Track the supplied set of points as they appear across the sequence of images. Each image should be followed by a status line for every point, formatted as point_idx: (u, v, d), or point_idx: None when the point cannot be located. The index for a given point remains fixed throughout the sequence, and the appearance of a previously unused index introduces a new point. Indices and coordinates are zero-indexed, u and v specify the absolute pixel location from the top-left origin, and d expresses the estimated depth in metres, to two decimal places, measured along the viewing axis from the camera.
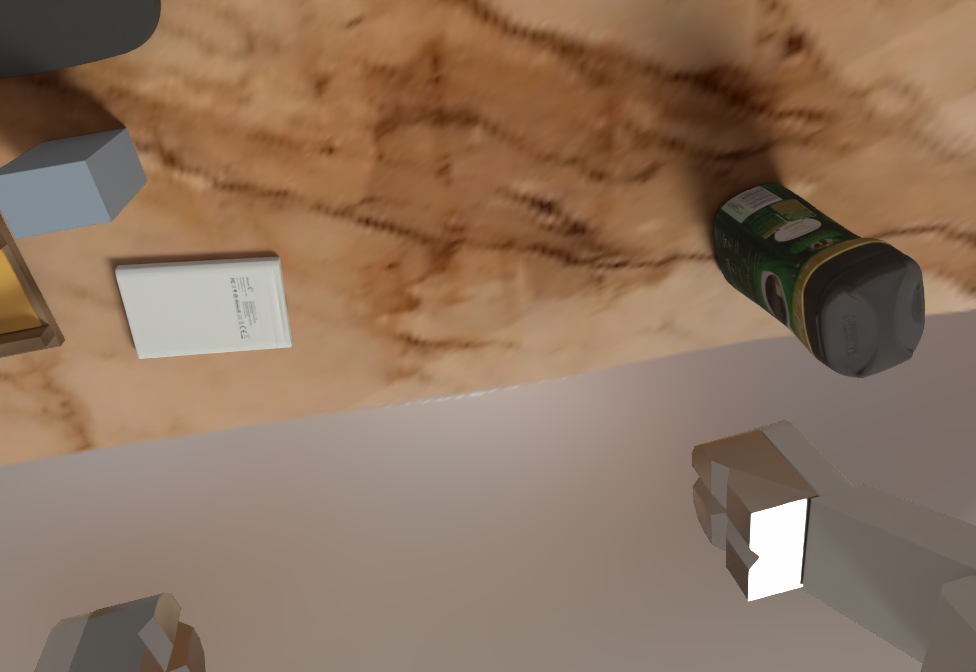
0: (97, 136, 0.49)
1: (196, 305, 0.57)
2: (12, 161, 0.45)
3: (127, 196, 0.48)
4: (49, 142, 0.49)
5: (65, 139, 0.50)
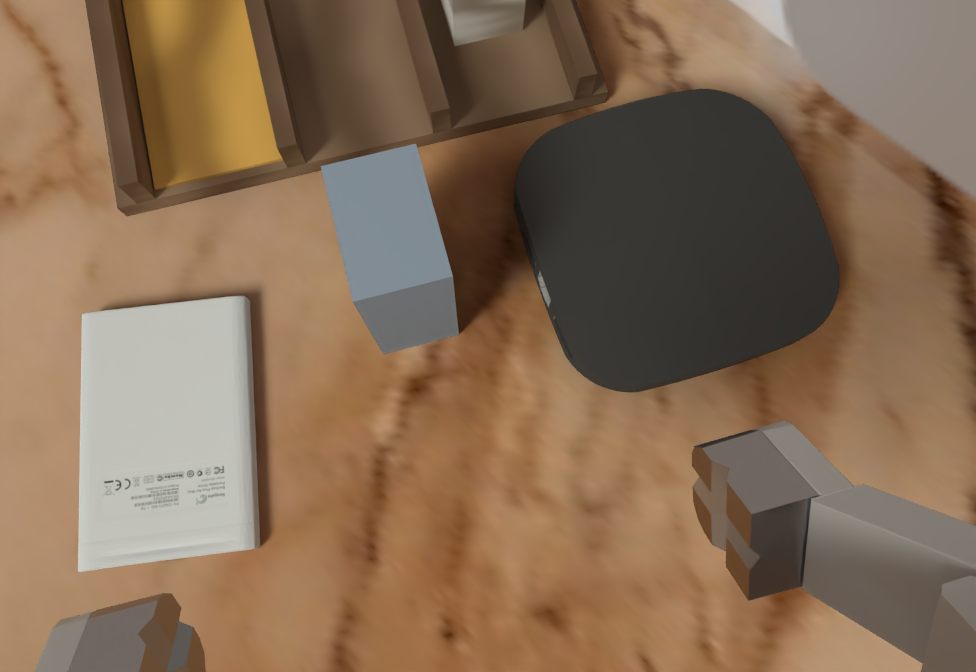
0: None
1: (175, 409, 0.34)
2: None
3: (377, 327, 0.31)
4: None
5: None
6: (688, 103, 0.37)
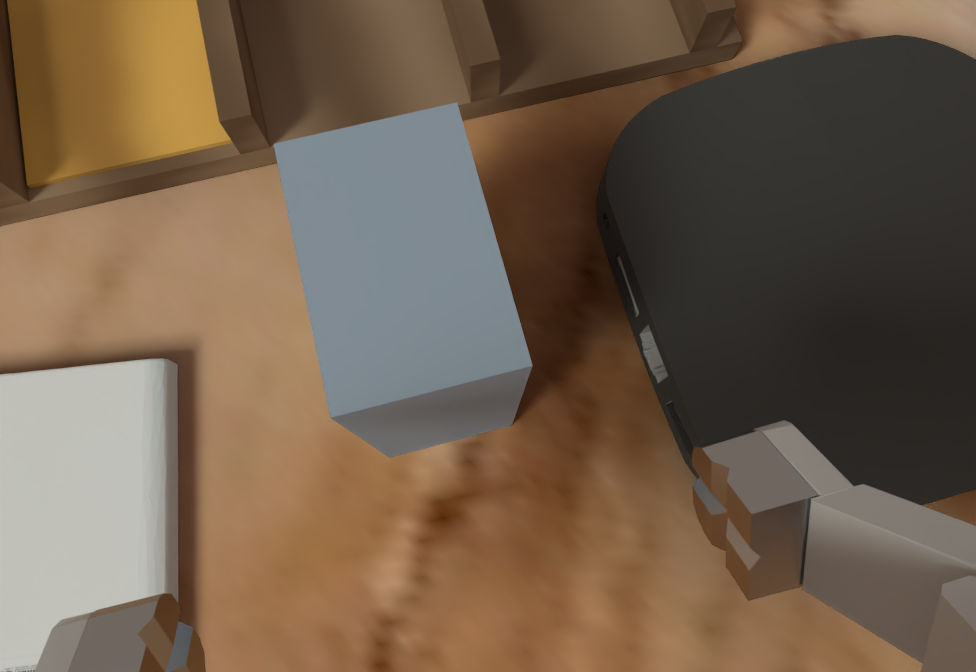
0: None
1: (42, 553, 0.20)
2: None
3: (379, 437, 0.17)
4: None
5: None
6: (878, 57, 0.23)
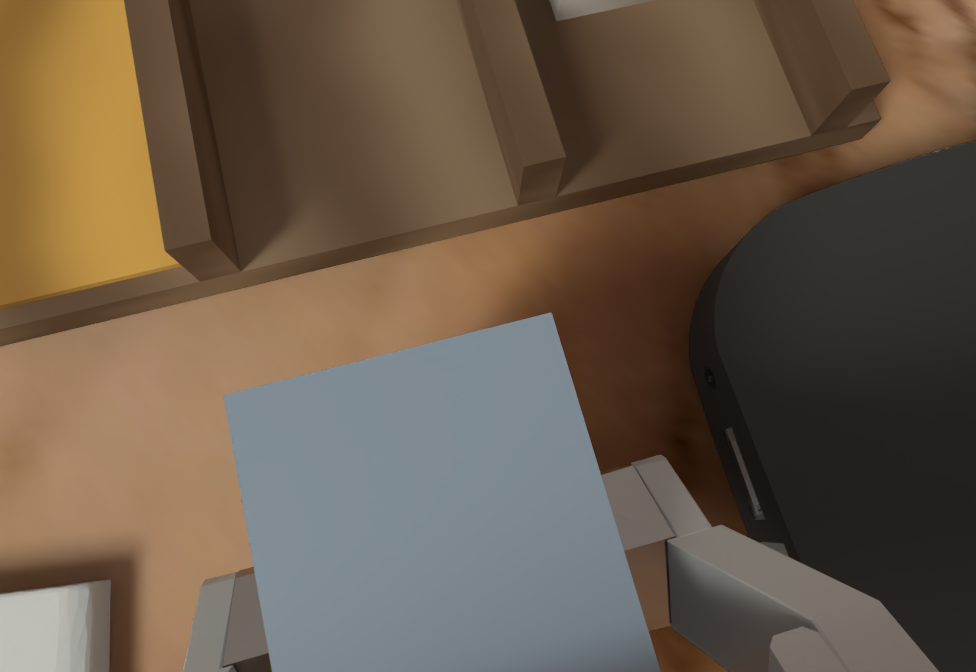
0: None
1: None
2: None
3: None
4: None
5: None
6: None
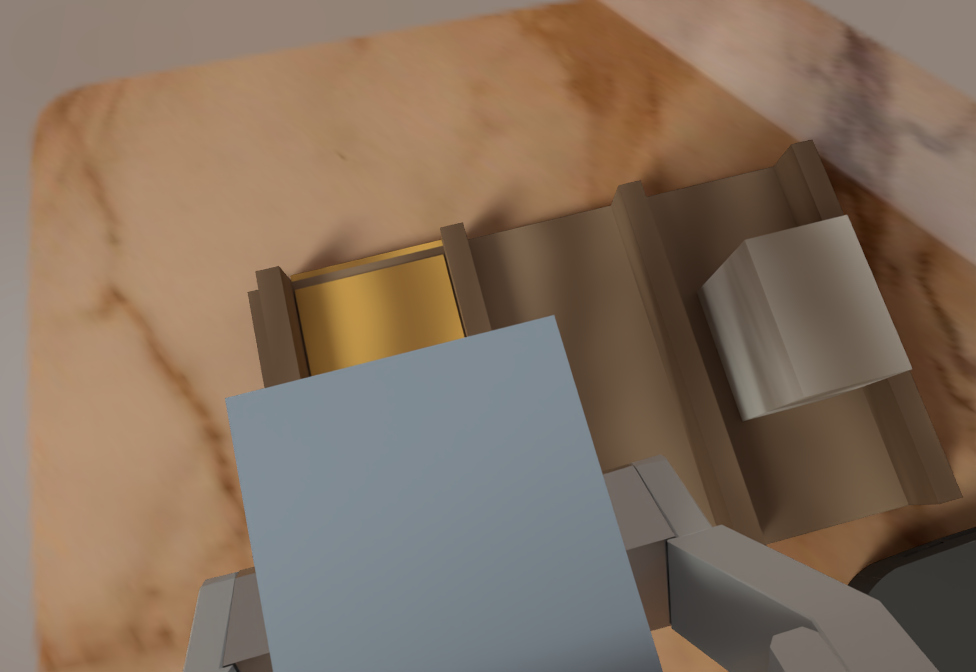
0: None
1: None
2: None
3: None
4: None
5: None
6: None
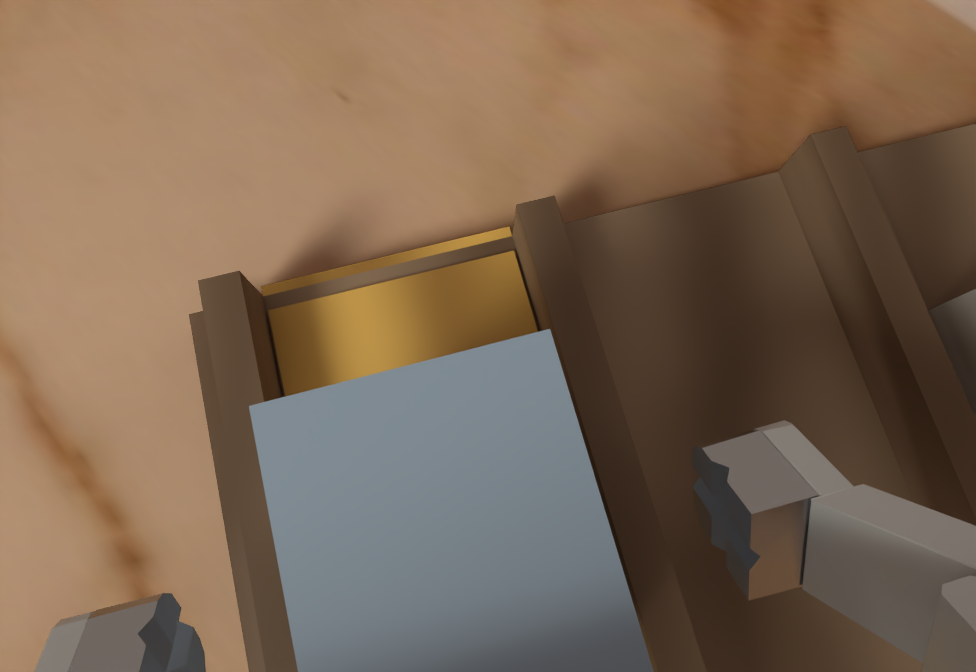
0: None
1: None
2: None
3: None
4: None
5: None
6: None
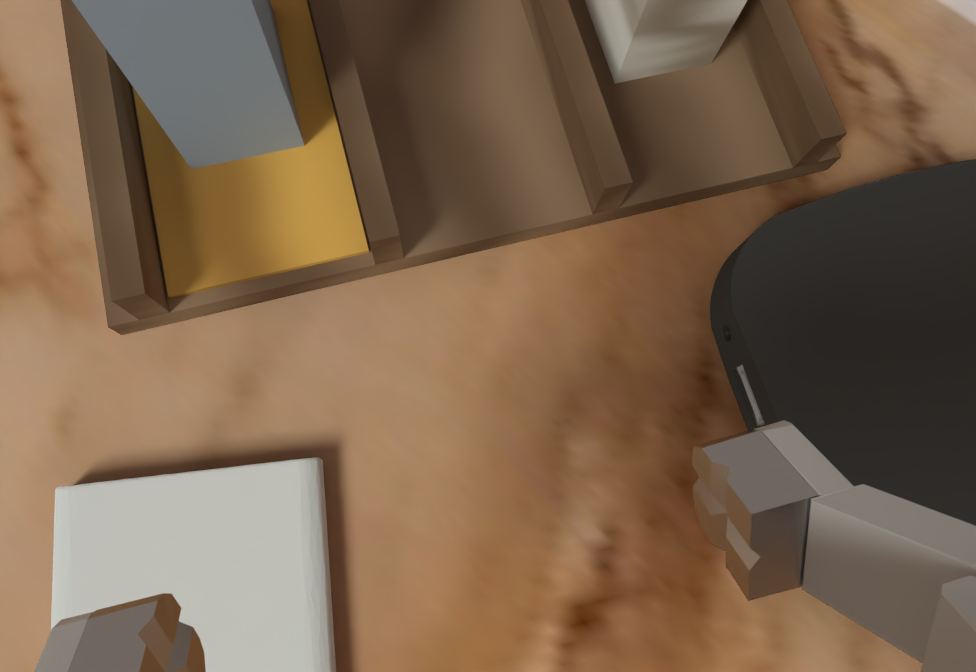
0: (286, 82, 0.24)
1: (210, 655, 0.21)
2: None
3: (143, 80, 0.20)
4: (272, 12, 0.26)
5: (278, 39, 0.25)
6: (972, 179, 0.25)
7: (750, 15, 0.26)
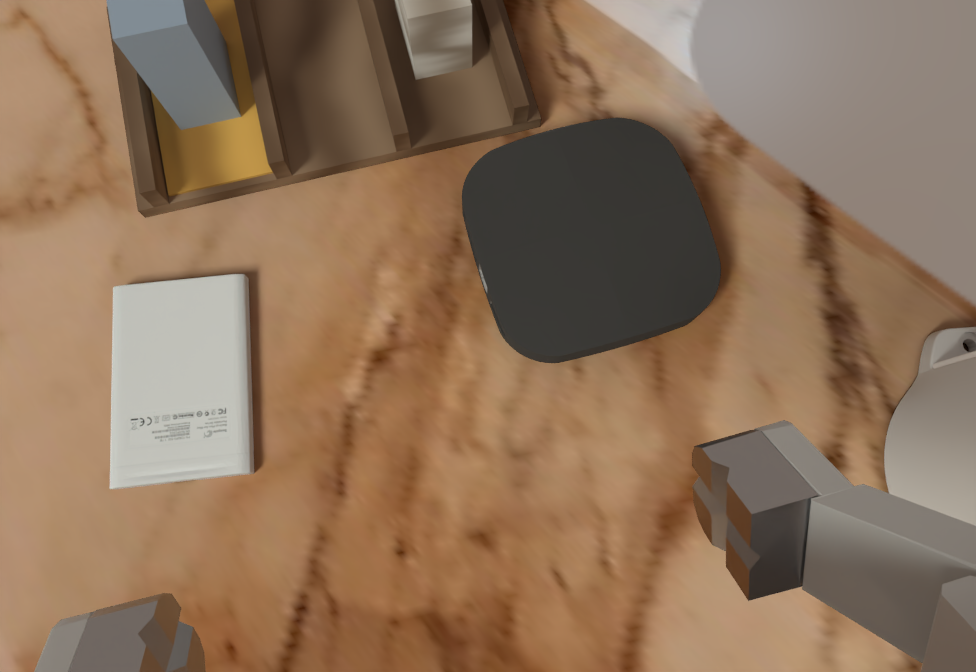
0: (229, 82, 0.45)
1: (188, 363, 0.42)
2: None
3: (153, 83, 0.41)
4: (224, 44, 0.47)
5: (227, 59, 0.47)
6: (604, 129, 0.45)
7: (490, 40, 0.47)
